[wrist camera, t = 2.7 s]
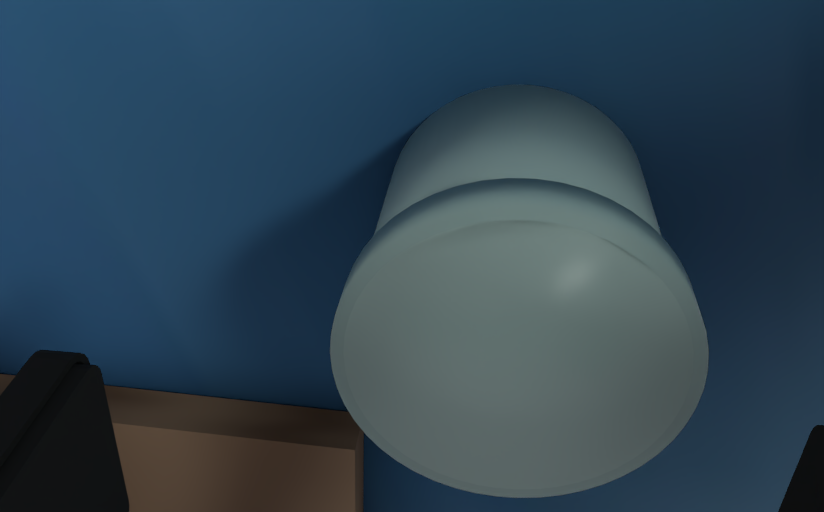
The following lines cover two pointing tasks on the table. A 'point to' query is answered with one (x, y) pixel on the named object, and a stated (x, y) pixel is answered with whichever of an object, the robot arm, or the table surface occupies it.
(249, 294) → the table surface
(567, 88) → the table surface
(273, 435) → the stud board
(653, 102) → the table surface
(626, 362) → the cap
